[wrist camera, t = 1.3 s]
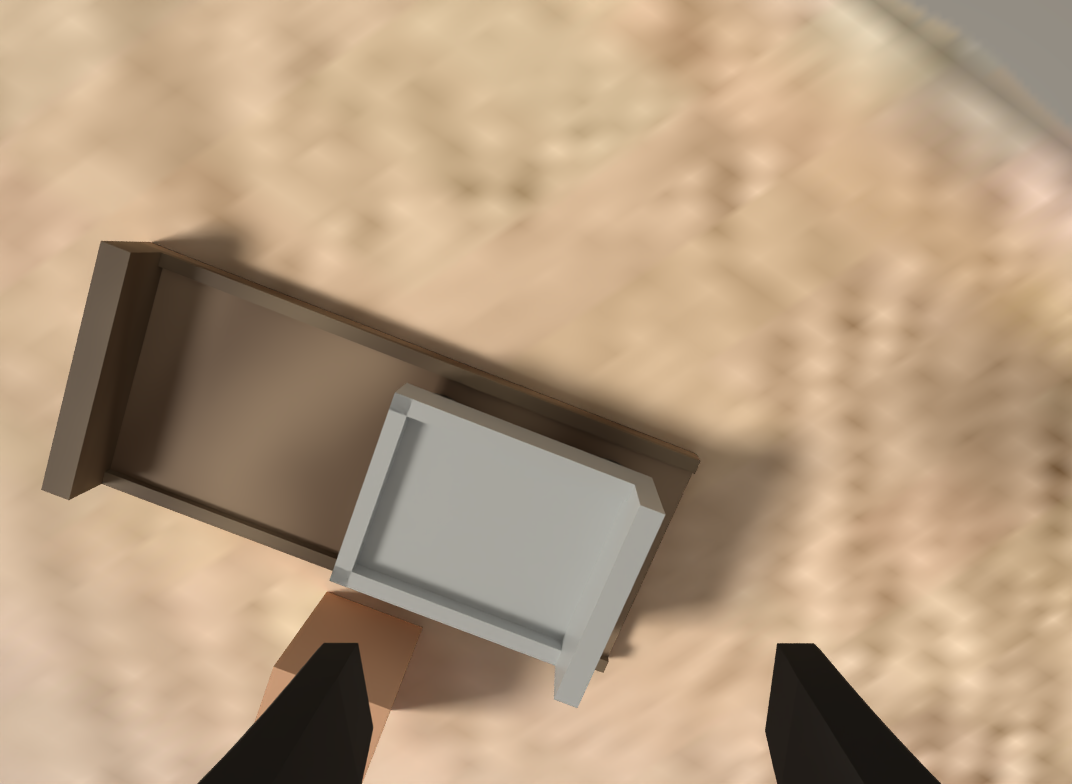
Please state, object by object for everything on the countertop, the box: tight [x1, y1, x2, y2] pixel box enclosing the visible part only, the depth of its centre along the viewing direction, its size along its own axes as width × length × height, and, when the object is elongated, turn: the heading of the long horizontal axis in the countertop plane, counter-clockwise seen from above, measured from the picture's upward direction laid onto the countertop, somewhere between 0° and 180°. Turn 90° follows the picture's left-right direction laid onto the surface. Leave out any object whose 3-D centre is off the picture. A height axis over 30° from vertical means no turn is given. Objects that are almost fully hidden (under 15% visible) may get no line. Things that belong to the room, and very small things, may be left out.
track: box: [41, 241, 700, 673], centre depth 24 cm, size 21×9×3 cm, turn 69°
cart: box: [330, 383, 665, 708], centre depth 23 cm, size 9×7×4 cm
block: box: [255, 592, 423, 782], centre depth 25 cm, size 4×4×5 cm
